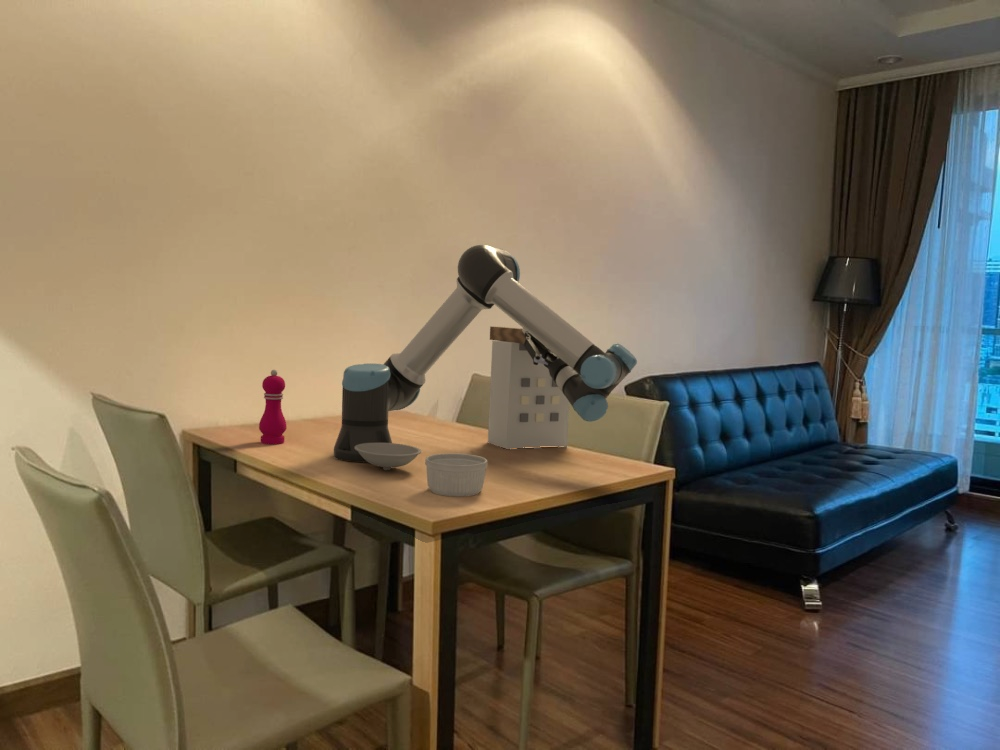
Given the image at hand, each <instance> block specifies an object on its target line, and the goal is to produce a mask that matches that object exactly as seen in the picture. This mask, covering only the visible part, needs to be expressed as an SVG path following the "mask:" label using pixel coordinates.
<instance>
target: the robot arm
mask: <svg viewBox="0 0 1000 750" xmlns="http://www.w3.org/2000/svg"><path fill="white" fill-rule="evenodd" d="M520 269H521V268H520V265H519V263H518V261H517V259H516V258H515V257H514V255H512V254H511V253H509V252H508V251H506V250H505V249H503V248H498V247H493V246H490V245H487V244H486V245H485V244H477V245H473V246H471V247H469V248H467V249H466V250H465V251H464V252H463V253H462V254H461V256H460V258H459V259H458V263H457V274H458V276H457V278H456V287H455V289H454V290H453V291H452V293H451V294H450V295H449V296H448V297H447V298H446V300H444V302H443V303H441V305H440V307H439V308H438V309H437V310H436V311H435V313H434V314H432V316H431V317H430V318H429V320H428V321H427V322H426V323H425V324H424V325H423V327H422V328H421V329H420V330H419V331H418V332H417V334H416V335H415V336H414V337H413V338H412V339H411V340H410V341H409V342H408V344H407V345H406V346H405V347H404V349H403V350H402V351H401V352H400V353H398V352H397V353H392V354H391V355H390V356H389V357H388V358H387V359H386V361H385V362H384V363H383V364H382V363H361V364H359V363H358V364H352V365H350V366H348V367H346V368H345V369H344V370H343V375H342V381H341V385H342V389H341V390H342V391H341V392H342V393H341V399H342V401H341V427H340V430H339V433H338V436H337V438H336V441H335V444H334V447H333V458H335V459H337V460H339V461H345V462H352V463H353V462H355V463H368V462H367V461H366V460H365V459H364V458H363V457H362V456H361V455H360V454H359V452H358V451H357V450H355V448H354V447H355V446H356V445H358V444H363V443H393V440H392V437H391V433H390V431H389V412H392V411H393V412H394V411H400V410H403V409H404V410H405V408H408V407H409V406H411V405H412V404H413V403H415V401H416V400H417V399H418V397H419V395H420V392H421V388H422V387H423V385H424V384H425V383H426V374H427V373H428V371H429V370H431V368H432V367H433V366H434V365H435V364H436V362H438V360H439V359H440V357H442V355H444V353H445V352H446V351H447V350H448V349H449V348H450V347H451V345H452V344H453V343H454V342H455V341H456V340H457V339H458V337H459V336H460V335H461V334H462V333H463V332H464V330H465V329H467V327H468V326H469V325H470V324H471V323H472V321H473V320H474V319H475V318H476V317H477V316H478V315H479V314H480V313H481V311H483V310H490V309H492V308H493V307H494V305H495V306H496V307H497V308H498V309H500V310H501V311H502V312H504V314H506V315H507V316H508V317H509V318H511V319H512V321H514V322H515V323H516V324H517V325H519V326H520V327H521V328H522V331H523V333H524V334H525V335H524V336H525V338H526V339H525V342H524V347H525V348H526V350H527V351H528V353H529V354H530V356H531V358H532V359H533V364H534V365H538V363H541V364H544V366H545V367H547V368H548V369H549V373H550V376H551V377H552V379H553V380H554V382H555V383H556V384H557V386H558V387H559V389H560V390H561V391H562V393H563V394H564V395H565V396H566V398H567V399H568V401H569V405H571V407H572V408H573V410H574V412H576V414H577V415H578V416H579V417H580V418H581V419H582V420H583V421H584V422H596V421H598V420H600V419H601V418H603V417H604V416H605V415H606V413H607V410H608V409H609V404H608V403H609V402H607V401H608V400H607V398H608V397H609V396H610V394H611V393H612V392H613V391H614V389H616V387H617V386H618V385H619V384H620V383H622V381H623V380H624V379H625V378H626V377H627V376H628V375H629V374H630V373H631V372H632V370H633V369H634V368H635V367H636V365H637V364H638V361H637V357H635V355H634V354H633V353H631V351H630V350H629V349H627V348H626V347H625V346H624V345H622V344H621V343H619V342H617V343H613V344H612V345H611V346H610V347H609V348H607V349H606V352H605V351H604V350H602V349H601V348H599V347H598V346H597V345H595V344H594V343H593V342H592V341H591V340H590V339H589V338H587V337H586V336H585V335H584V334H582V333H581V332H580V331H578V330H577V329H576V328H575V327H574V326H573V325H571V323H569V322H568V321H566V320H565V319H564V318H563V317H561V316H560V315H559V314H558V313H557V312H555V311H554V310H553V309H551V308H550V307H549V306H547V305H546V303H544V302H543V301H542V300H541V299H539V298H538V297H537V296H535V295H534V294H533V293H532V292H531V291H530V290H529V289H527V288H525V286H523V285H522V284H521V283H520V282H519V281H520V276H521V270H520ZM544 345H545V346H546V347H547V348H548V349H547V348H546V347H545V346H544Z"/></svg>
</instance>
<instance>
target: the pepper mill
mask: <svg viewBox="0 0 1000 750" xmlns="http://www.w3.org/2000/svg"><path fill="white" fill-rule="evenodd" d="M261 384H262V385H261V387H262V389H263V390H264V393H263V396H264V397H263V399H265V406H264V411H263V413H262V416H261V418H260V421H259V424H258V429H259V431H260V433H261V434H262V435H260V443H261V444H263V445H282V444H284V443H285V435H283V434H284V433H285V431H286V430H287V421H286V418H285V416H284V414H283V411H282V400H283V399H284V396H283V395H284V393H283V391H284V390H285V388H286V382H285V379H284V378H283V377H282V376H280V375H278V370H276V369H272V370H271V371H270V375H268V376H266V377H265V378H264V379H263V380H262V383H261Z"/></svg>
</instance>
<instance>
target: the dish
mask: <svg viewBox="0 0 1000 750" xmlns="http://www.w3.org/2000/svg"><path fill="white" fill-rule="evenodd" d="M354 448H355V450H357V451H358V452H359V454H360V455H361V456H362V457H363V458H364V459H365V460H366V461H367V462H366V463H369V464H371V465H373V466H375V467H380V468H381V467H382V469H383V470H384V471H390V470H392V468H399V467H404V466H406V465H408V464H410V463H411V462H413V460H414V459H416V458H417V457H418V456H419V455H420V454H422V449H420V448H419V447H417V446H413V445H410V444H409V445H408V444H403V443H394V442H392V443H363V444H358V445H356V446H355V447H354Z"/></svg>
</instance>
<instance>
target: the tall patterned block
mask: <svg viewBox="0 0 1000 750" xmlns="http://www.w3.org/2000/svg"><path fill="white" fill-rule="evenodd" d="M491 343H492V344H491V365H490V367H491V368H490V370H491V371H490V384H489V385H490V388H489V390H490V391H489V410H488V411H489V412H488V427H487V431H488V432H487V443H488V442H489V443H488V444H490V443H491V444H490V445H493V444H494V445H493V446H496V445H497V446H496V447H498V446H500V447H499V448H501V447H503V448H506V449H510V448H523V447H524V448H525V447H540V446H564V447H563V448H567V447H568V436H569V435H568V434H569V417H570V402H569V401H568V399H567V398H566V396H565V395H564V394H563V393H562V391H561V390H560V389H559V387H558V386H557V384H556V383H555V382H554V380H553V379H552V377H551V376H550V373H549V369H548V368H547V367H545V366H544V364H541V363H538V365H534V364H533V359H532V358H531V356H530V354H529V353H528V351H527V350H526V348H525V347H524V344H523V343H514V342H505V341H497V340H491ZM545 347H546V346H545ZM546 348H547V347H546ZM547 349H548V348H547ZM503 448H502V449H503ZM506 449H505V450H506ZM510 450H511V449H510Z"/></svg>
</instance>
